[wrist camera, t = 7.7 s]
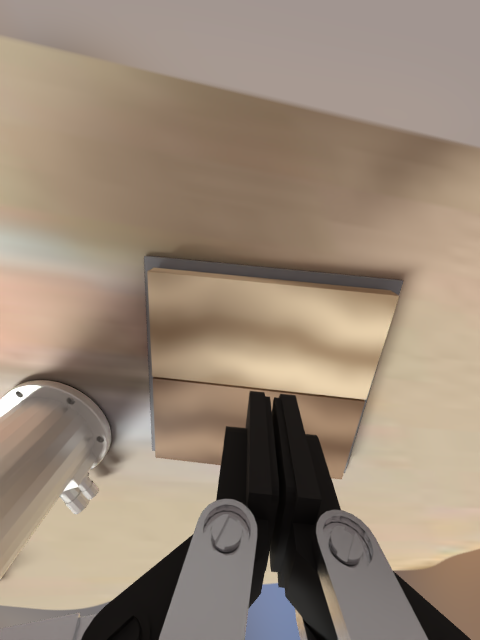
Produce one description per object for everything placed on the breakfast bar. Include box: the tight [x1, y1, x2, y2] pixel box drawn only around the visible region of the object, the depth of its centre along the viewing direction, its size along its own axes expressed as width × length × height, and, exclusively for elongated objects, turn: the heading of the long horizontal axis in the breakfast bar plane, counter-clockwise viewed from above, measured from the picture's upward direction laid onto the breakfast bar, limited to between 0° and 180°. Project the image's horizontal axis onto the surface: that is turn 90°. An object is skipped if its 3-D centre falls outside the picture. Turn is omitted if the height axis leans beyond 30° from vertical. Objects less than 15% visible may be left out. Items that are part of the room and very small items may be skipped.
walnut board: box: [153, 377, 365, 479], centre depth 28 cm, size 10×20×2 cm, turn 85°
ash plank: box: [147, 268, 399, 400], centre depth 24 cm, size 10×20×2 cm, turn 85°
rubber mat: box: [144, 256, 403, 473], centre depth 27 cm, size 22×22×1 cm
